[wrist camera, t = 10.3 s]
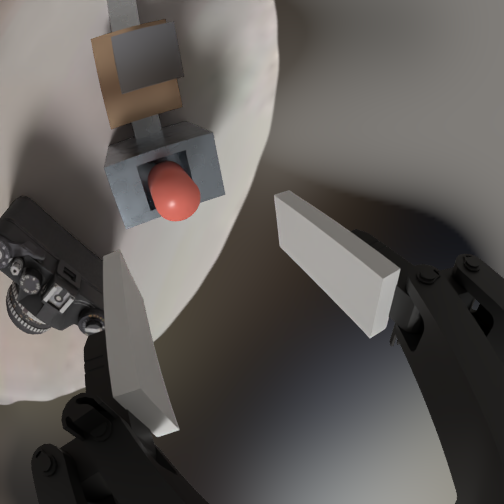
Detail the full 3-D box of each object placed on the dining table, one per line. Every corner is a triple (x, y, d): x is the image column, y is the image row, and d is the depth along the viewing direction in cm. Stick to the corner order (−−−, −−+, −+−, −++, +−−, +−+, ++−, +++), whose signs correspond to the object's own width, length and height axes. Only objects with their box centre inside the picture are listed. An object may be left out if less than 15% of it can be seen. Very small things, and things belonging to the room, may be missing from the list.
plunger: (142, 167, 19) (149, 186, 16) (180, 155, 20) (194, 170, 17) (153, 202, 21) (162, 227, 18) (188, 190, 22) (204, 212, 18)
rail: (73, -74, 9) (67, -116, 2) (154, -92, 11) (172, -136, 4) (122, 191, 28) (126, 229, 21) (200, 165, 30) (229, 192, 23)
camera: (-20, 257, 23) (-49, 313, 15) (24, 184, 22) (-10, 225, 15) (68, 320, 32) (67, 382, 24) (119, 263, 31) (125, 323, 24)
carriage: (95, 47, 19) (73, 4, 8) (158, 30, 21) (197, -24, 9) (112, 124, 24) (105, 152, 12) (172, 105, 25) (222, 116, 14)
